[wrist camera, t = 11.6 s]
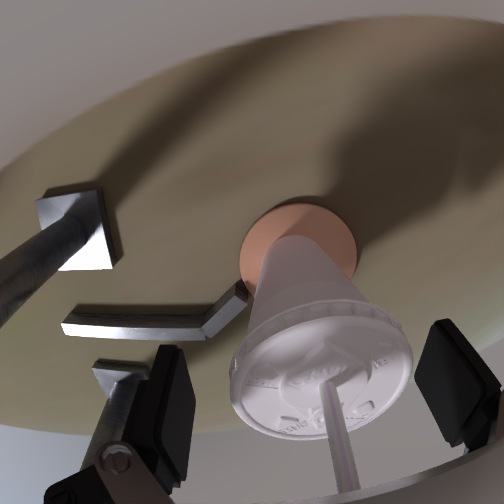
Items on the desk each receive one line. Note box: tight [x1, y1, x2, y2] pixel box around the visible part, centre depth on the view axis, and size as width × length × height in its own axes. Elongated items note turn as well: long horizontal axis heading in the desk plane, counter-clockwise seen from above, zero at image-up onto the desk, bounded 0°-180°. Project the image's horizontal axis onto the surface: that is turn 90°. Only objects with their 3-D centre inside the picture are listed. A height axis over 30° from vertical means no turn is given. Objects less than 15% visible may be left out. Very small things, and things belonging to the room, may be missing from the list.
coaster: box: [240, 202, 357, 298], centre depth 18 cm, size 7×7×1 cm
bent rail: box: [61, 283, 248, 341], centre depth 19 cm, size 14×3×2 cm, turn 93°
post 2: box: [80, 362, 150, 471], centre depth 14 cm, size 5×5×20 cm
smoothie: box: [229, 235, 413, 494], centre depth 12 cm, size 6×6×14 cm
